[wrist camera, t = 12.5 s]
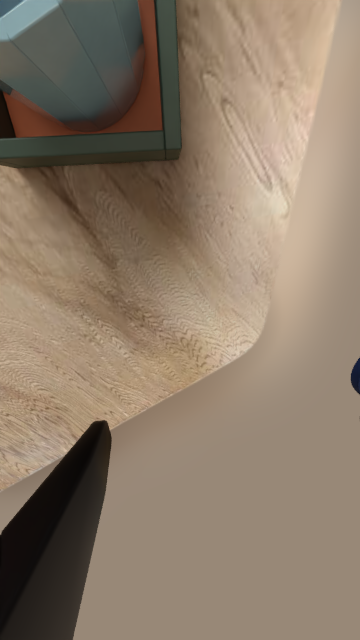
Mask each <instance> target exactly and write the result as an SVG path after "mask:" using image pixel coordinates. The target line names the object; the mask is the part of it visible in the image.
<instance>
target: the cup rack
mask: <svg viewBox="0 0 360 640" xmlns="http://www.w3.org/2000/svg"><path fill="white" fill-rule="evenodd" d="M141 8H142V15H143V28H144V38H145V67H144V73H143V79H142V82H141V86H140V89H139V92H138V94H137V97H136V99H135V101H134V102H133V104H132V106H131V107H130V109H129V110H128V111H127V113H126V114H125V115H124V116H123V117H122V118H121V119H120V120H119V121H118V122H116V123H115V124H113V125H112V126H110V127H108V128H106V129H103V130H100V131H95V132H79V131H73V130H70V129H67V128H64V127H62V126H60V125H58V124H56V123H54V122H52V121H50V120H48V119H46V118H44V117H43V116H41V115H40V114H38V113H36V112H35V111H33V110H32V109H30V108H29V107H27V106H26V105H24V104H22V103H21V102H19V101H18V100H16V99H15V98H13V97H12V96H10V95H8V94H7V93H5V92H4V91H2V90H1V89H0V165H3V166H8V167H13V168H30V167H48V166H67V165H85V164H104V163H122V162H141V161H159V160H178V158H179V155H180V151H181V148H182V143H181V118H180V92H179V67H178V41H177V16H176V0H141Z"/></svg>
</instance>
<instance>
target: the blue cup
mask: <svg viewBox="0 0 360 640" xmlns="http://www.w3.org/2000/svg"><path fill="white" fill-rule="evenodd" d="M144 67H145V38H144V28H143V15H142V8H141V0H0V89H1V90H2V91H4V92H5V93H7V94H8V95H10V96H12V97H13V98H15V99H16V100H18V101H19V102H21V103H22V104H24V105H26V106H27V107H29V108H30V109H32V110H33V111H35V112H36V113H38V114H40V115H41V116H43V117H44V118H46V119H48V120H50V121H52V122H54V123H56V124H58V125H60V126H62V127H64V128H67V129H70V130H73V131H79V132H95V131H100V130H103V129H106V128H108V127H110V126H112V125H113V124H115V123H116V122H118V121H119V120H120V119H121V118H122V117H123V116H124V115H125V114H126V113H127V111H128V110H129V109H130V107H131V106H132V104H133V102H134V101H135V99H136V97H137V94H138V92H139V89H140V86H141V82H142V79H143V73H144Z"/></svg>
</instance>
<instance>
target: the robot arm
mask: <svg viewBox="0 0 360 640" xmlns="http://www.w3.org/2000/svg"><path fill="white" fill-rule="evenodd" d="M110 451H111V433H110V430H109V426H108V423H107V421H105V420H102V421H95V422H93V423H92V424H91V425H90V427H89V428H88V429H87V430H86V431H85V433H84V434H83V435H82V436H81V437H80V439H79V440H78V441H77V442H76V443H75V445H74V446H73V447H72V448H71V449H70V451H69V452H68V453H67V454H66V455H65V457H64V458H63V459H62V460H61V461H60V463H59V464H58V465H57V466H56V467H55V469H54V470H53V471H52V472H51V473H50V475H49V476H48V477H47V478H46V479H45V480H44V482H43V483H42V484H41V485H40V487H39V488H38V489H37V490H36V491H35V493H34V494H33V495H32V496H31V497H30V498H29V500H28V501H27V502H26V503H25V504H24V506H23V507H22V508H21V509H20V510H19V512H18V513H17V514H16V515H15V516H14V518H13V519H12V520H11V521H10V522H9V524H8V525H7V526H6V527H5V528H4V530H3V531H2V533H1V535H0V640H73V636H74V631H75V627H76V622H77V618H78V613H79V609H80V604H81V600H82V595H83V591H84V586H85V582H86V577H87V573H88V568H89V564H90V559H91V555H92V551H93V546H94V542H95V537H96V533H97V528H98V524H99V519H100V515H101V510H102V506H103V501H104V496H105V491H106V483H107V475H108V467H109V459H110Z"/></svg>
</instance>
